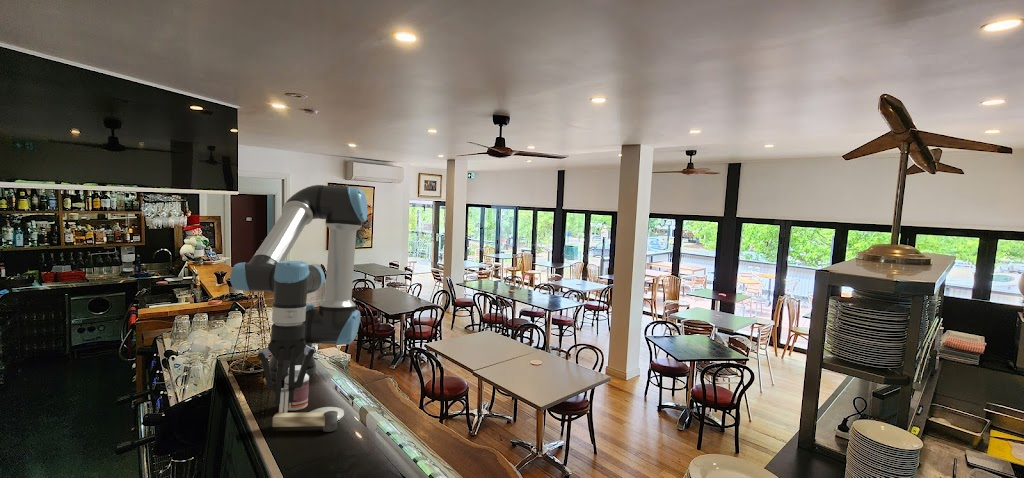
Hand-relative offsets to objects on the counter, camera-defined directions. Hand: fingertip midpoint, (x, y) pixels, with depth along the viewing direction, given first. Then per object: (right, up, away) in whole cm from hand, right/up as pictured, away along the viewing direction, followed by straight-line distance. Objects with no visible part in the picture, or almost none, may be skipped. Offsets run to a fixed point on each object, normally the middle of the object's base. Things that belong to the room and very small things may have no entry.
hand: (282, 415), depth 108 cm
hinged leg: (+7, -3, -2) cm, 7 cm away
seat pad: (+8, -3, +6) cm, 11 cm away
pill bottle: (-3, -3, +12) cm, 12 cm away
